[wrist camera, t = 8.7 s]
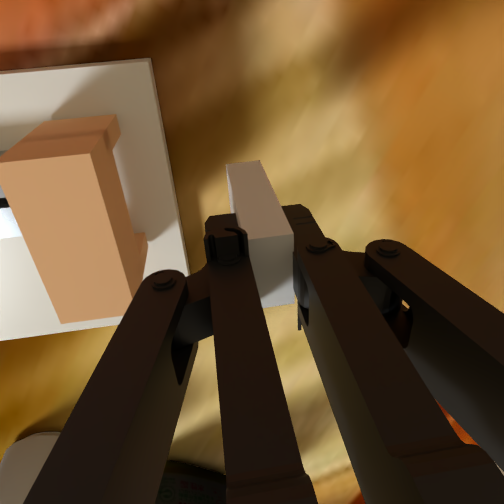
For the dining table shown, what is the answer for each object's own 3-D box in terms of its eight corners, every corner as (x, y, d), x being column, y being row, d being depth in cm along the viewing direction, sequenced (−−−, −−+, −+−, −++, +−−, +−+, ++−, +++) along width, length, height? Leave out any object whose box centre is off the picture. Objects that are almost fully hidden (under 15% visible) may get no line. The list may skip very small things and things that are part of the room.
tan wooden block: (116, 113, 20) (89, 153, 15) (148, 246, 24) (136, 313, 19) (44, 121, 20) (-9, 163, 14) (89, 254, 24) (61, 324, 19)
